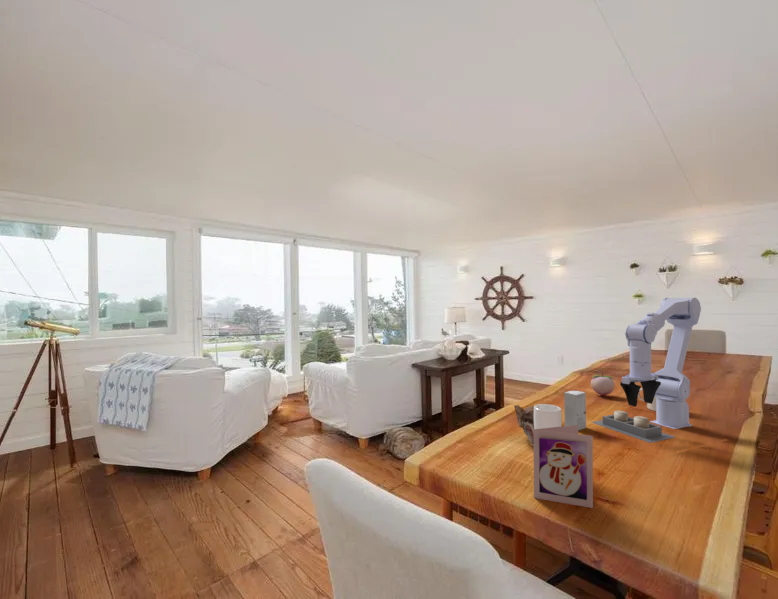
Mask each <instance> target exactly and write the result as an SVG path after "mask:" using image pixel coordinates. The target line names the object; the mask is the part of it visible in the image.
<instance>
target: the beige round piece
mask: <svg viewBox="0 0 778 599" xmlns="http://www.w3.org/2000/svg"><path fill="white" fill-rule="evenodd" d="M613 415H614V419H615V420H618V421H621V422H627V421H628V417H629V413H628V412H626V411H624V410H613Z"/></svg>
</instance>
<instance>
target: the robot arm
mask: <svg viewBox="0 0 778 599" xmlns="http://www.w3.org/2000/svg"><path fill="white" fill-rule="evenodd" d="M701 312H702V307H701V302H700V301H699V300H698V298H697V297H681V298H680V297H664V298H663V299H662V300H660V307H659V308H658V309H657V310H656V311H655V312H648V313H646V315H645V316H644V317H643V318H641V319H640V320H638V321H637V322H636V323H632V324H629V325H627V327H626V329H625V333H624V335H625V339H626V340H627V346H628V347H629V373H628V374H627V375H625V376H621V381H620V386H621V388H622V390H623V392H624V394H625V396H626V397H625V398H626V400H627V403H628V406H632V407H637V405H638V399H639V397H638V393H639V394H640V392H639V390H640V389H641V388H642V389H643V390H642V395H643V397H642V398H643V399H644V401H643V402H644V403H646V404H647V403H650V404H652V403H653V399H654V397H656V411H655V412H656V413H655V414H656V416H655V417H656V418H655V419H654V420H649V423H651V424H655V425H658V426H661V427H662V426H663V427H666V428H669V429H673V430H677V429H682V428H686V427H687V428H688V427H692V426H693V424H691V423H690V406H689V404H688V402H687V401H686V400H687V399H688V398H689V396H690V392H691V388H690V385H691V380H690V379H689V378H688V376H686V374H684V373H683V368H684V365H685V361H686V356H687V351H688V347H689V344H690V340H691V336H692V335H691V334H692V331H693V327H694V326H695V325H698V324H699V319H700V316H701ZM665 321H666V322H667V323H669V324H670V325H671V326H673V329H672V333H671V338H670V341H669V345H668V349H667V354H666V358H665V361H664V362H665V363H664V367H663V368H662V369H661V368H660V370H659V369H658V370H657V371H655V372H652V343H653V342H654V341H655V339H656V337H657V334H658V332H659V331H661V329H663V327H665V325H666V322H665ZM636 383H640V385H639V384H636Z"/></svg>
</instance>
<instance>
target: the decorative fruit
mask: <svg viewBox="0 0 778 599" xmlns="http://www.w3.org/2000/svg"><path fill="white" fill-rule="evenodd" d="M590 378H592V379H591V381H590V387H591V388H592V390H593V392H595V393H596V394H598V395H600V396H602V397H605V396H608V395H610V394H611V393H612V392H613V391H614V390H615V385H616V384H615V380H616V379H615V378H614V377H612V376H610V375H604V373H602V375H599V374H595V375H592V376H591V377H590Z"/></svg>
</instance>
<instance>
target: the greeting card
mask: <svg viewBox="0 0 778 599" xmlns="http://www.w3.org/2000/svg"><path fill="white" fill-rule="evenodd" d="M593 442H594V441H593V435H588V434H587V435H586V434H579V430H578V425H570V426H565V425H564V426H563V425H562V426H561V427H551V428H542V429H534V447H533V499H538V500H543V501H544V500H545V501H550V502H556V503H562V504H567V505H572V506H579V507H584V508H585V507H586V508H591V509H593V508H594V487H593V486H594V484H593V483H594V479H593V478H594V474H593V473H594V465H593V464H594V461H593V460H594V458H593V457H594V455H593V450H594V449H593V447H594V446H593V445H594V443H593Z"/></svg>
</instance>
